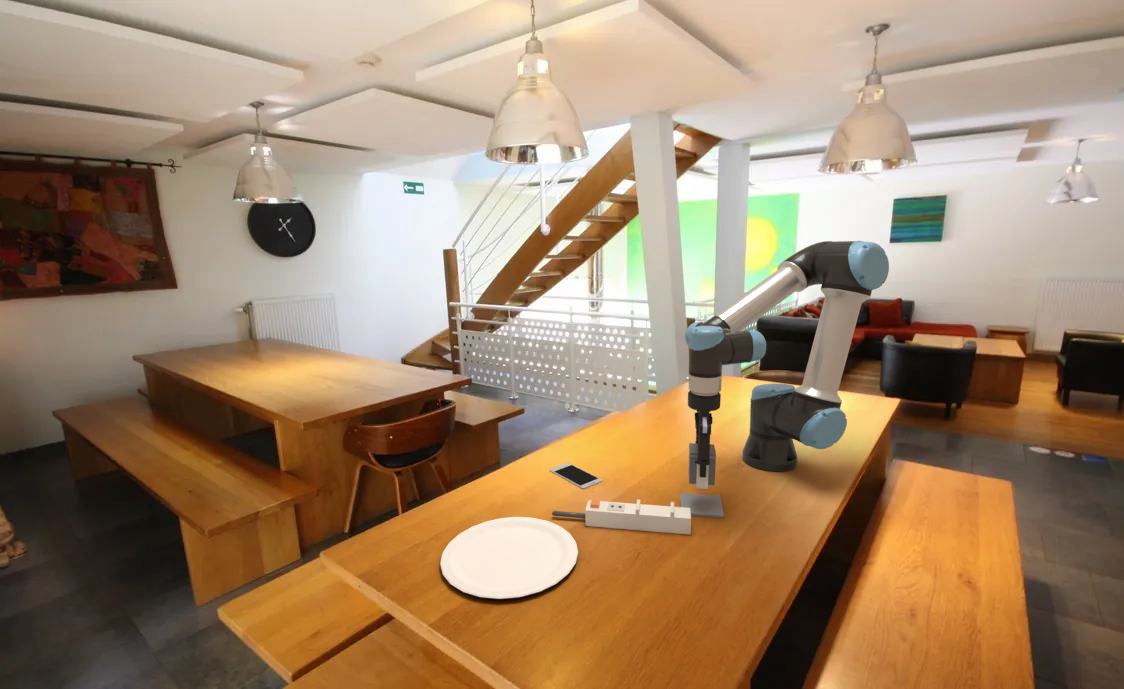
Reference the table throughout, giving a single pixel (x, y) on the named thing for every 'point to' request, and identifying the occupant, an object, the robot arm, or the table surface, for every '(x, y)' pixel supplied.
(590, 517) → the power strip
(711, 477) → the grey block
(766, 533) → the table surface
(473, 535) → the plate
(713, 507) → the mat
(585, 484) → the smartphone
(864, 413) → the table surface
